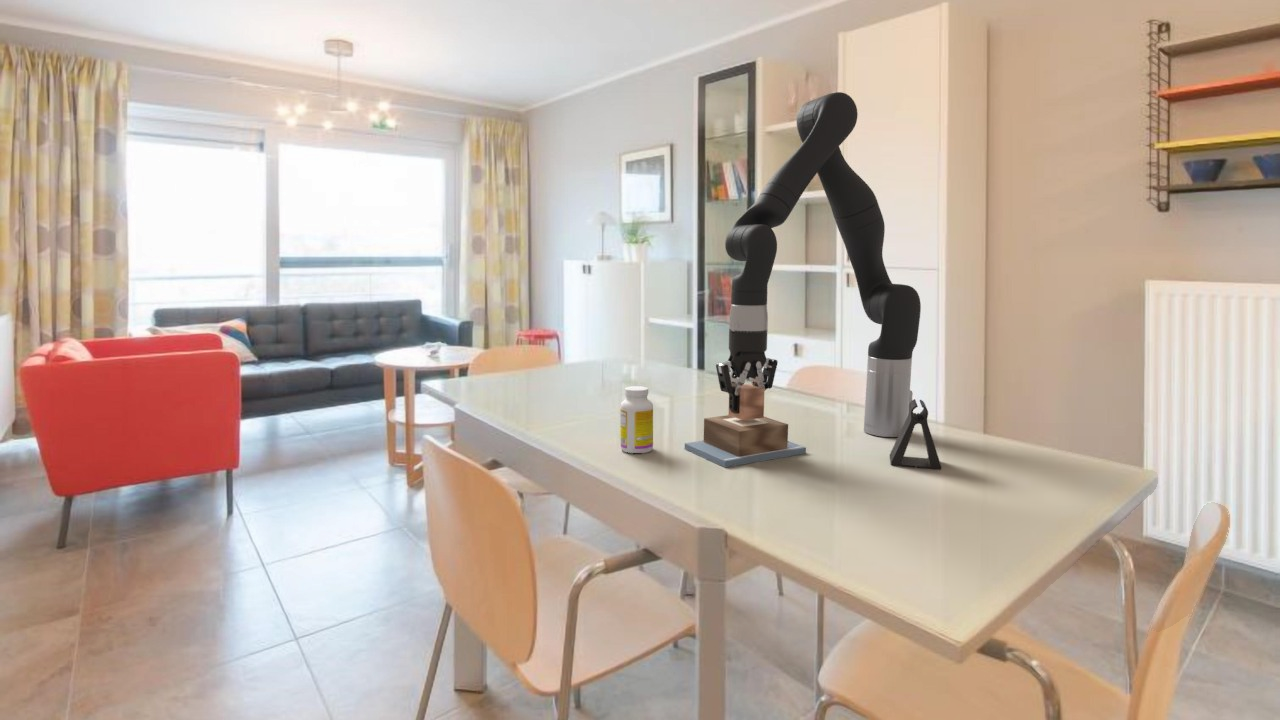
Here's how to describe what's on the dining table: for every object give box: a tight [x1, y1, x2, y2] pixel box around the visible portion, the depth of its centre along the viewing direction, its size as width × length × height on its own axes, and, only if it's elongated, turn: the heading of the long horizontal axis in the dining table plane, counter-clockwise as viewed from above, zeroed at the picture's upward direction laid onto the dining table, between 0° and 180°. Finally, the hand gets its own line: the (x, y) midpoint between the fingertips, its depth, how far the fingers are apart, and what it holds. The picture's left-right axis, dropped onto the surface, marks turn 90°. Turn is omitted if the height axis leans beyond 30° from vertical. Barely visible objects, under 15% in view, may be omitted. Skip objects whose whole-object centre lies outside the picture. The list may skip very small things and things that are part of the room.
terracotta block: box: [728, 383, 766, 420], centre depth 142 cm, size 5×5×6 cm
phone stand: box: [889, 399, 942, 471], centre depth 135 cm, size 9×6×12 cm, turn 73°
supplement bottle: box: [619, 385, 654, 454], centre depth 143 cm, size 7×7×13 cm
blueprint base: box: [684, 414, 807, 468], centre depth 143 cm, size 20×14×6 cm
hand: (745, 411), depth 142 cm, fingers closed on terracotta block, 4 cm apart
